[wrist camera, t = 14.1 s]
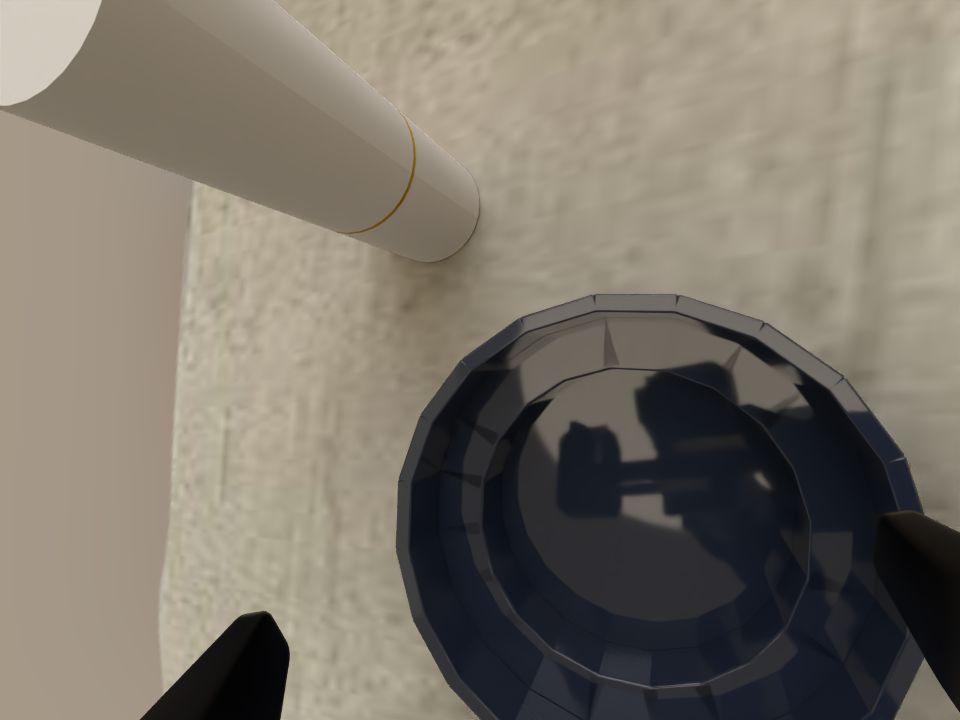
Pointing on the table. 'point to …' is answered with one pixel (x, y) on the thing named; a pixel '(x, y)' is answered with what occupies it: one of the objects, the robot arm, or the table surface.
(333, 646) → the table surface
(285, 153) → the tube
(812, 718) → the bowl
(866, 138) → the table surface
